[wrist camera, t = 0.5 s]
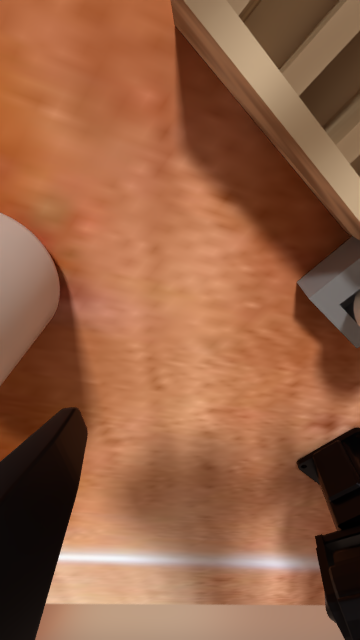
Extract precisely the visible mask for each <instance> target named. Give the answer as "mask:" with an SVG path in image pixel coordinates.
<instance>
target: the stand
mask: <svg viewBox="0 0 360 640" xmlns="http://www.w3.org/2000/svg"><path fill="white" fill-rule="evenodd" d="M297 283H298V284H299V286H300V287H301V289H302V290H303V291H304V293H305V294H306V296H307V297H308V298H309V299H310V300H311V301H312V303H313V304H314V305H315V306H316V307H317V308H318V309H319V310H320V311H321V312H322V313H323V314H324V315H325V316H326V317H327V318H328V319H329V320H330V321H331V322H332V323H333V324H334V325H335V326H336V327H337V328H338V329H339V330H340V332H341V333H342V334H343V335H344V336H345V337H346V338H347V339H348V340H349V341H350V342H351V343H352V344H353V345H354V346H355V347H356V348H358V347H360V327H359V325H358V324H357V321H356V319H355V315H354V300H355V295H356V292H357V291H358V290H359V289H360V240H358V239H357V238H355V237H353V236H352V237H351V238H350V239H348V240H347V241H346V242H345V243H344V244H342V245H341V246H340V247H339V248H337V249H336V250H335V251H334V252H333V253H331V254H330V255H329V256H328V257H327V258H325V259H324V260H323V261H322V262H320V263H319V264H318V265H317V266H316V267H314V268H313V269H312V270H311V271H310V272H308V273H307V274H306V275H305V276H303V277H302V278H301V279H300V280H299V281H297Z"/></svg>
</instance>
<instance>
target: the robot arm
mask: <svg viewBox="0 0 360 640" xmlns="http://www.w3.org/2000/svg"><path fill="white" fill-rule="evenodd" d="M87 434H88V433H87V427H86V425H85V422H84V420H83V417H82V415H81V412H80V410H79V409H78V408H76V407H71V408H64V409H62V410H60V411H59V412H58V413H57V414H56V415H55V416H53V417H52V418H51V419H50V420H49V421H47V422H46V423H45V424H44V425H43V426H42V427H40V428H39V429H38V430H37V431H36V432H35V433H33V434H32V435H31V436H30V437H29V438H28V439H26V440H25V441H24V442H23V443H22V444H21V445H19V446H18V447H17V448H16V449H15V450H14V451H12V452H11V453H10V454H9V455H8V456H7V457H5V458H4V459H3V460H2V461H1V462H0V640H35V638H36V634H37V631H38V627H39V624H40V620H41V617H42V613H43V610H44V606H45V603H46V599H47V596H48V592H49V589H50V585H51V582H52V579H53V575H54V572H55V568H56V565H57V561H58V558H59V554H60V551H61V547H62V544H63V540H64V537H65V533H66V530H67V526H68V523H69V519H70V516H71V512H72V509H73V505H74V502H75V498H76V494H77V491H78V486H79V481H80V476H81V470H82V464H83V459H84V453H85V447H86V442H87ZM297 465H298V468H299V469H300V470H301V471H302V472H304V473H305V474H306V475H308V476H309V477H310V478H311V479H313V480H314V481H315V482H317V483H318V484H319V485H320V486H321V489H322V491H323V494H324V497H325V499H326V502H327V505H328V508H329V510H330V513H331V516H332V518H333V521H334V524H335V527H336V529H337V531H336V532H332V533H329V534H326V535H322V534H321V535H317V536H315V539H316V544H317V548H316V551H317V556H318V561H319V566H320V571H321V576H322V581H323V586H324V591H325V605H326V611H327V614H328V616H329V618H330V619H331V620H333V621H334V622H335V623H337V625H338V627H339V629H340V630H341V633H342V635H343V637H344V638H345V640H360V428H354V429H352V430H351V431H349V432H347V433H345V434H344V435H342V436H340V437H338V438H337V439H335V440H333V441H331V442H330V443H328V444H326V445H324V446H323V447H321V448H319V449H318V450H316V451H314V452H312V453H311V454H309V455H307V456H305V457H304V458H302V459H300V460H299V461H298V462H297Z"/></svg>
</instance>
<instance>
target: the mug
mask: <svg viewBox="0 0 360 640" xmlns="http://www.w3.org/2000/svg"><path fill="white" fill-rule="evenodd" d="M59 299H60V282H59V276H58V272H57V269H56V266H55V264H54V262H53V259H52V258H51V256H50V254H49V252H48V251H47V249H46V248H45V246H44V245H43V244H42V243H41V241H40V240H39V239H38V238H37V237H36V236H35V235H34V234H33V233H32V232H31V231H30V230H28V229H27V228H26V227H25V226H23V225H22V224H20V223H19V222H18V221H16V220H14V219H12V218H11V217H9V216H7V215H4V214H2V213H0V386H1V385H2V384H3V382H4V381H5V380H6V378H7V377H8V376H9V375H10V373H11V372H12V371H13V369H14V368H15V367H16V365H17V364H18V363H19V362H20V360H21V359H22V358H23V356H24V355H25V354H26V352H27V351H28V350H29V348H30V347H31V346H32V345H33V343H34V342H35V341H36V339H37V338H38V337H39V335H40V334H41V333H42V331H43V330H44V329H45V328H46V326H47V325H48V324H49V322H50V321H51V319H52V318H53V316H54V314H55V312H56V310H57V307H58V303H59Z"/></svg>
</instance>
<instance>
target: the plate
mask: <svg viewBox="0 0 360 640" xmlns="http://www.w3.org/2000/svg"><path fill="white" fill-rule="evenodd" d="M354 315H355V319H356V321H357V324H358V325H359V327H360V289H359V290H358V291H357V292H356V295H355V300H354Z"/></svg>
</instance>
